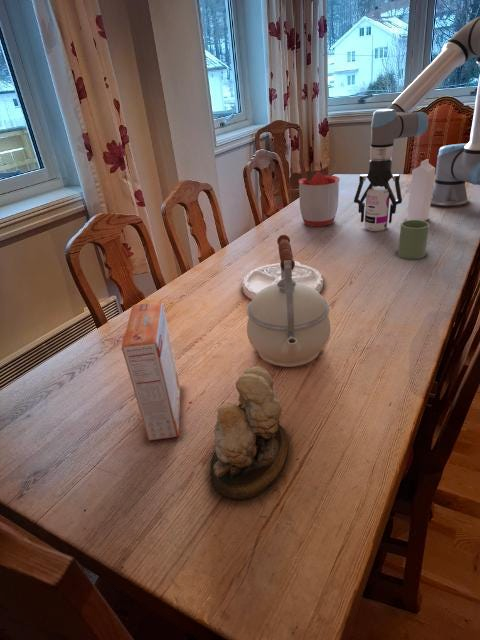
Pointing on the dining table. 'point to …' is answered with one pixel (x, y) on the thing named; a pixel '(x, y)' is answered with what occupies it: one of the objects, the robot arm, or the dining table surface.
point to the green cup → (413, 239)
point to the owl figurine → (249, 439)
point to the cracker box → (153, 370)
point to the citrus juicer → (319, 199)
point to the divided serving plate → (272, 275)
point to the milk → (421, 191)
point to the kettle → (288, 317)
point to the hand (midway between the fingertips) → (376, 221)
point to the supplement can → (377, 208)
